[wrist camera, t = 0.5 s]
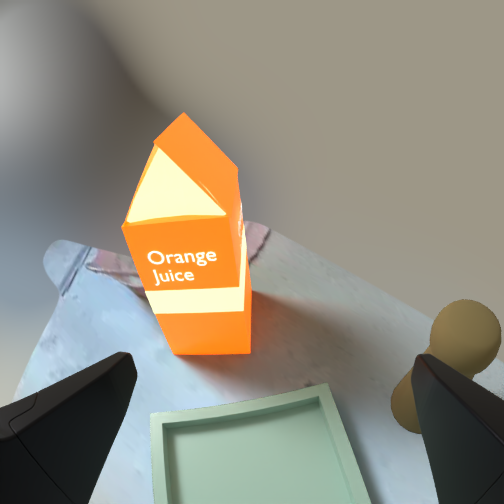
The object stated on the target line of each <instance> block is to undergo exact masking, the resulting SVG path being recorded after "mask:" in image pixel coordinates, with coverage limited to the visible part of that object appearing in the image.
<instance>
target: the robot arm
mask: <svg viewBox="0 0 504 504" xmlns="http://www.w3.org/2000/svg"><path fill="white" fill-rule="evenodd" d="M136 381H137V370H136V367H135V364H134V361H133V357H132V355H131V354H130V353H127V352H117V353H115V354H113V355H111V356H109V357H107V358H105V359H103V360H101V361H99V362H97V363H95V364H93V365H91V366H89V367H87V368H85V369H83V370H81V371H79V372H77V373H75V374H73V375H71V376H69V377H67V378H65V379H63V380H61V381H59V382H57V383H55V384H53V385H51V386H49V387H47V388H44V389H42V390H40V391H39V392H36V393H34V394H32V395H30V396H28V397H25V398H23V399H21V400H19V401H16V402H14V403H11V404H9V405H6V406H4V407H1V408H0V504H88V503H89V500H90V498H91V495H92V493H93V490H94V488H95V485H96V483H97V480H98V478H99V475H100V473H101V471H102V468H103V466H104V463H105V461H106V459H107V456H108V454H109V452H110V449H111V447H112V445H113V442H114V440H115V438H116V435H117V433H118V431H119V429H120V426H121V424H122V422H123V419H124V417H125V415H126V412H127V409H128V406H129V402H130V399H131V396H132V393H133V390H134V387H135V384H136ZM411 385H412V390H413V395H414V401H415V406H416V412H417V417H418V422H419V426H420V430H421V433H422V437H423V440H424V444H425V447H426V451H427V455H428V459H429V463H430V466H431V470H432V475H433V479H434V483H435V487H436V492H437V497H438V501H439V504H504V400H502V399H501V398H499V397H498V396H496V395H494V394H493V393H491V392H490V391H488V390H487V389H485V388H484V387H482V386H480V385H479V384H477V383H476V382H474V381H472V380H471V379H469V378H468V377H466V376H465V375H463V374H461V373H460V372H458V371H457V370H455V369H454V368H452V367H450V366H449V365H447V364H446V363H444V362H442V361H441V360H439V359H438V358H436V357H435V356H433V355H431V354H429V353H426V354H419V355H417V357H416V359H415V363H414V366H413V370H412V373H411Z"/></svg>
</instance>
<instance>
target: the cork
mask: <svg viewBox="0 0 504 504" xmlns="http://www.w3.org/2000/svg"><path fill="white" fill-rule="evenodd" d="M500 344H501V327H500V324H499V321H498V319H497V318H496V316H495V315H494V313H493V312H492V311H491V310H490V309H488V308H487V307H486V306H484V305H483V304H481V303H479V302H476V301H473V300H464V299H462V300H458V301H454V302H452V303H450V304H449V305H447V306H446V307H445V308H443V309H442V310H441V312H440V313H439V314H438V316H437V318H436V319H435V320H434V323H433V325H432V329H431V334H430V345H429V347H428V348H427V349H426V351H425V352H424V353H423V354H426V353H429V354H431V355H433V356H435V357H436V358H438V359H439V360H441V361H442V362H444V363H446V364H447V365H449V366H450V367H452V368H454V369H455V370H457V371H458V372H460V373H461V374H463V375H465V376H466V377H468V378H469V379H471V380H472V379H473V377H474V375H475V374H477V373H480V372H481V371H483V370H484V369H486V368H487V367H488V366H489V365H490V364H491V363H492V361H493V360H494V359H495V357H496V355H497V353H498V350H499V347H500ZM412 370H413V367H412V368H411V370H410V371H409V372H408V373H407V374H406V376H405V377H404V378H403V379H402V380H401V381H400V383H399V384H398V385H397V387H396V388H395V389H394V391H393V394H392V397H391V409H392V412H393V415H394V418H395V419H396V420H397V422H398V423H399V424H400V425H401V426H402V427H404V428H405V429H407V430H408V431H410V432H414V433H417V434H422V433H421V430H420V426H419V422H418V417H417V412H416V406H415V401H414V395H413V390H412V385H411V373H412Z"/></svg>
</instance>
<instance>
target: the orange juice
mask: <svg viewBox="0 0 504 504" xmlns="http://www.w3.org/2000/svg"><path fill="white" fill-rule="evenodd" d="M154 143H155V146H154V148H153V151H152V153H151V155H150V157H149V160H148V162H147V165H146V167H145V169H144V172H143V174H142V177H141V179H140V182H139V185H138V187H137V190H136V192H135V195H134V198H133V200H132V203H131V206H130V209H129V212H128V214H127V217H126V220H125V222H124V224H123V225H122V230H123V232H124V236H125V239H126V241H127V244H128V247H129V250H130V252H131V255H132V258H133V260H134V263H135V266H136V268H137V271H138V273H139V276H140V278H141V281H142V283H143V286H144V288H145V293H146V295H147V297H148V300H149V302H150V305H151V307H152V309H153V312H154V314H155V315H156V317H157V319H158V322H159V324H160V326H161V328H162V331H163V333H164V335H165V337H166V339H167V341H168V344H169V346H170V348H171V350H172V352H173V354H188V355H205V354H249V353H250V342H251V282H250V274H249V267H248V259H247V251H246V239H245V231H244V225H243V218H242V210H241V209H242V207H241V206H242V205H241V202H240V195H239V186H238V178H237V173H238V168H237V167H236V166H235V165H234V164H233V163H232V162H231V161H230V160H229V159H228V158H227V157H226V155H225V154H224V153H223V152H222V151H221V150H220V149H219V148H218V147H217V146H216V145H215V144H214V143H213V142H212V141H211V140H210V139H209V138H208V137H207V136H206V135H205V134H204V133H203V131H202V130H201V129H199V127H198V126H197V125H196V124H195V123H194V122H193V121H192V120H191V119H190V118H189V117H188V116H187V115H186V114H185V113H182V114H181V115H180V116H179V117H178V118H177V119H176V120H175V121H174V122H173V123H172V124H171V125H170V126H169V127H168V128H167V129H166V130H165V131H164V132H163V133H162V134H161V135H160V136H159V137H158V138H157V139H156V140H155V141H154Z"/></svg>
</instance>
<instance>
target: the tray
mask: <svg viewBox="0 0 504 504" xmlns="http://www.w3.org/2000/svg"><path fill="white" fill-rule="evenodd" d="M150 437H151V463H152V480H153V494H154V504H371V501H370V498H369V495H368V492H367V489H366V487H365V484H364V481H363V478H362V475H361V473H360V470H359V467H358V464H357V461H356V459H355V456H354V453H353V450H352V448H351V445H350V442H349V439H348V437H347V434H346V431H345V429H344V426H343V423H342V420H341V418H340V415H339V412H338V410H337V407H336V404H335V402H334V399H333V396H332V394H331V391H330V388H329V386H328V383H327V382H326V383H322V384H318V385H314V386H311V387H307V388H303V389H299V390H294V391H290V392H286V393H281V394H277V395H272V396H267V397H263V398H258V399H252V400H247V401H242V402H236V403H230V404H224V405H218V406H211V407H204V408H197V409H189V410H180V411H171V412H160V413H150Z"/></svg>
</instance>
